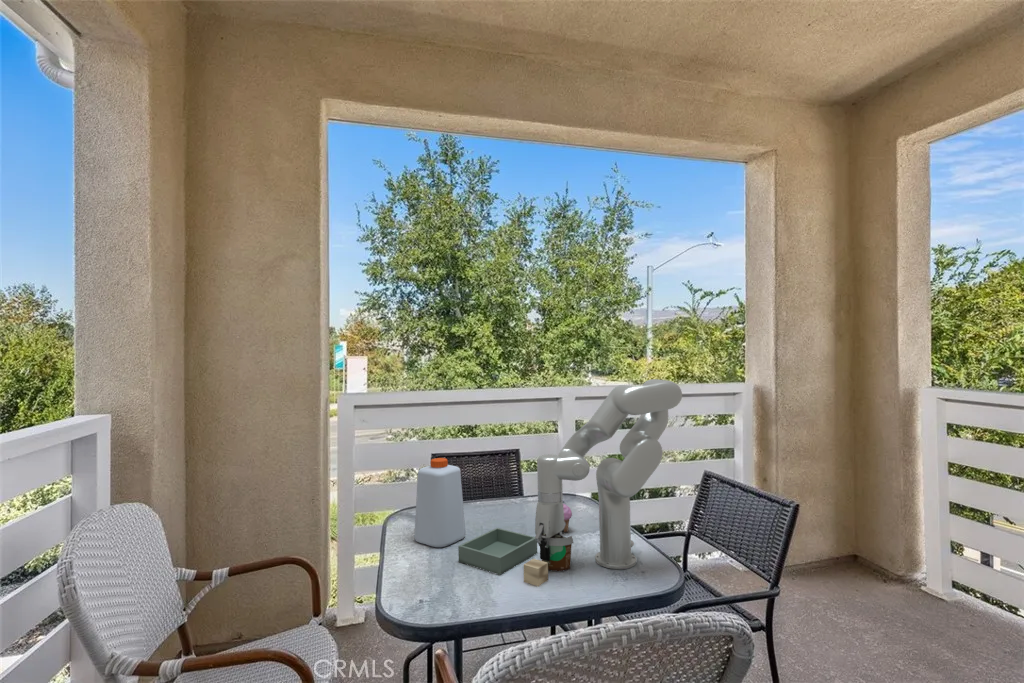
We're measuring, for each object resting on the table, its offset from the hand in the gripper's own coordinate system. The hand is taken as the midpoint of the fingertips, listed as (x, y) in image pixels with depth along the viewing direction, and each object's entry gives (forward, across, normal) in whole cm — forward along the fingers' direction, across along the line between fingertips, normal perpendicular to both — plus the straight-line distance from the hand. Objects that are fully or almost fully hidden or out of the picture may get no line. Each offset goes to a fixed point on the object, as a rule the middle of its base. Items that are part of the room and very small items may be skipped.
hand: (551, 555), depth 153 cm
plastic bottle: (+4, +2, -45) cm, 45 cm away
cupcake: (+4, -28, -14) cm, 31 cm away
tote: (+4, +3, -18) cm, 19 cm away
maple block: (+4, +10, +1) cm, 11 cm away
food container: (+4, 0, 0) cm, 4 cm away
